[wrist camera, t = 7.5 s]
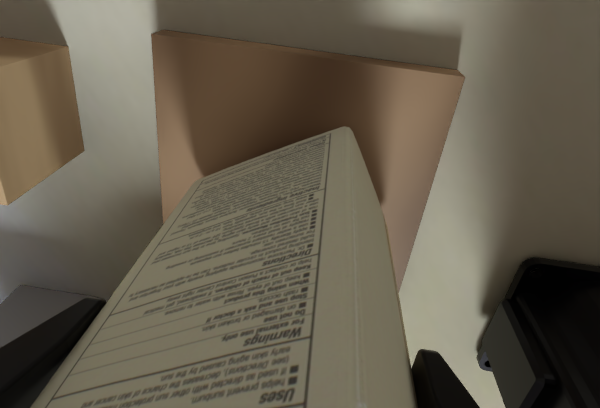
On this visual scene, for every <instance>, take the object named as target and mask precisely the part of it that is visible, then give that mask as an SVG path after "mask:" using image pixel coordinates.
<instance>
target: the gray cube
mask: <svg viewBox="0 0 600 408" xmlns="http://www.w3.org/2000/svg"><path fill="white" fill-rule="evenodd" d="M86 297H94V296H87V295H81V294H75V293H68V292H62V291H56V290H50V289H43V288H37V287H31V286H24V285H20V286H19V287H18V288H17V289H16V290H15V291H14V292H13V293H11V294H10V295H9V296H8V297H7V298H6V299H5V300H4V301H3V302H2V303H1V304H0V347H2V346H3V345H5V344H7V343H8V342H10V341H12V340H14V339H15V338H17V337H19V336H20V335H22V334H24V333H25V332H27V331H29V330H31V329H32V328H34V327H36V326H37V325H39V324H41V323H43V322H44V321H46V320H48V319H49V318H51V317H53V316H54V315H56V314H58V313H60V312H61V311H63V310H65V309H66V308H68V307H70V306H72V305H73V304H75V303H77V302H78V301H80V300H82V299H84V298H86ZM94 298H99V297H94Z"/></svg>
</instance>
